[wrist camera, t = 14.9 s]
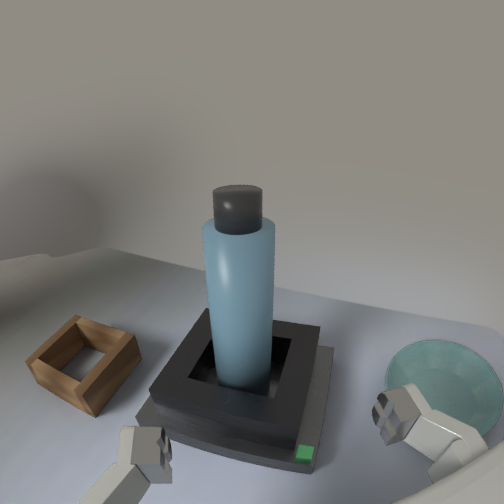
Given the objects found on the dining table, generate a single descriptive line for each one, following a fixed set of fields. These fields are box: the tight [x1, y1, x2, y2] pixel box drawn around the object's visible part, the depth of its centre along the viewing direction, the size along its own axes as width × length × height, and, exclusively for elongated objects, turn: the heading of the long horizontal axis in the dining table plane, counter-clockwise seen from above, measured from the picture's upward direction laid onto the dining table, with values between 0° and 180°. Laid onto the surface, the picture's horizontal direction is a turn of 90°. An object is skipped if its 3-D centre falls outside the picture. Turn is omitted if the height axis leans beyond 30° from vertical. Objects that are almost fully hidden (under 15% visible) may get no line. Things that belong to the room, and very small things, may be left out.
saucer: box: [385, 340, 503, 436], centre depth 20 cm, size 12×12×2 cm
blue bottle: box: [202, 185, 275, 396], centre depth 19 cm, size 4×4×15 cm
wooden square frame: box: [25, 315, 142, 418], centre depth 24 cm, size 8×8×3 cm
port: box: [135, 308, 334, 474], centre depth 22 cm, size 13×12×4 cm
